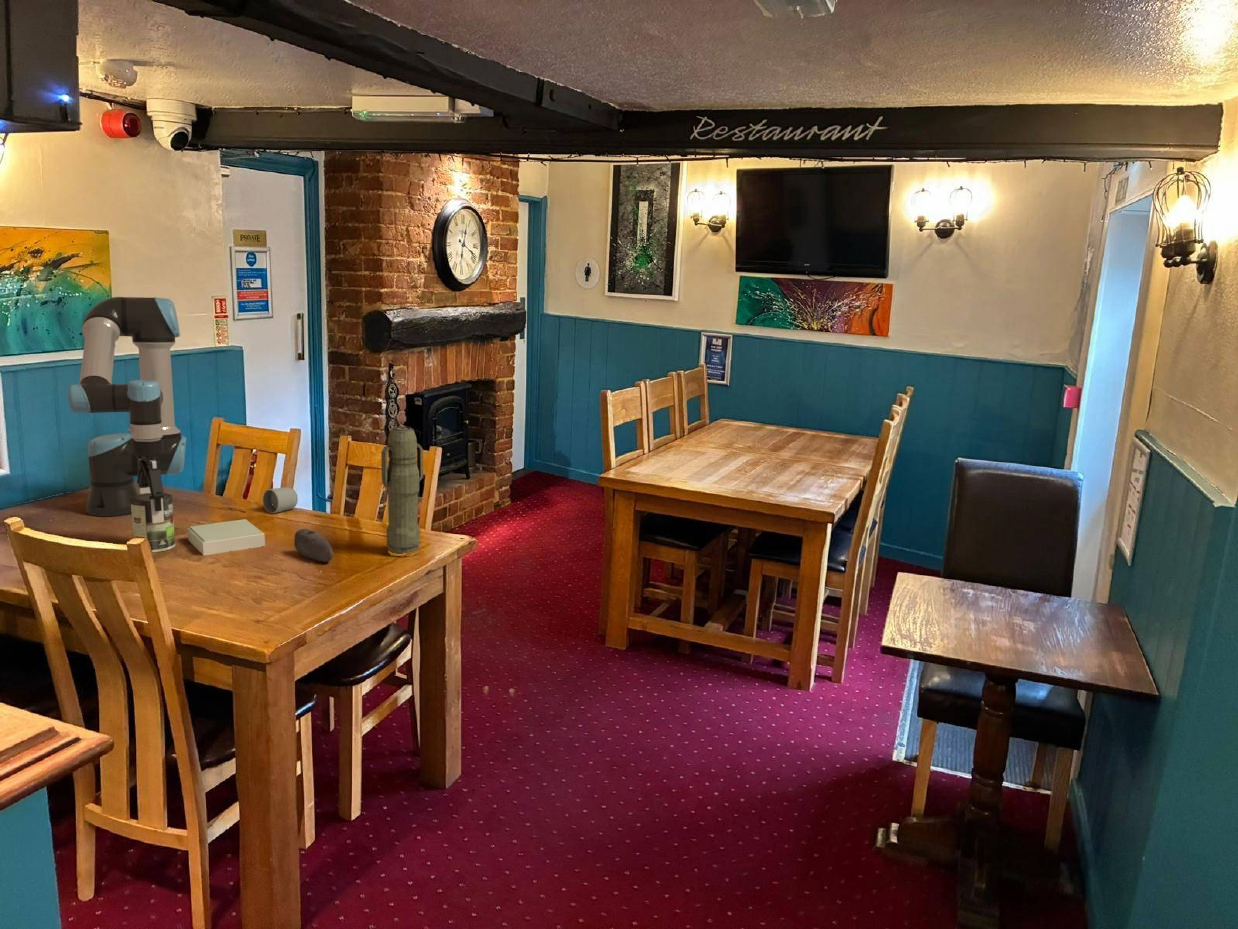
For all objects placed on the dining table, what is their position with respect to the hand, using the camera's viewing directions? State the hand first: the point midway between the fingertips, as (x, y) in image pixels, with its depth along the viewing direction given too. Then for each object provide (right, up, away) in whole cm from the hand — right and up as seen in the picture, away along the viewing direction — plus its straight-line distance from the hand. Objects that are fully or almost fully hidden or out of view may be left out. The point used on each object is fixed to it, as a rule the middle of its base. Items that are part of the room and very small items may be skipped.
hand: (152, 516), depth 245 cm
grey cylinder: (+18, -1, +42) cm, 46 cm away
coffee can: (0, -9, +2) cm, 9 cm away
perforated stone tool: (+45, -11, -1) cm, 46 cm away
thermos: (+66, -10, +7) cm, 67 cm away
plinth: (+17, -8, +8) cm, 20 cm away
